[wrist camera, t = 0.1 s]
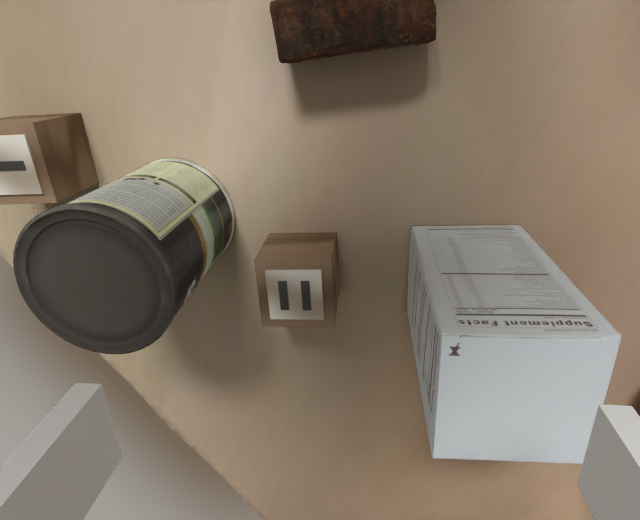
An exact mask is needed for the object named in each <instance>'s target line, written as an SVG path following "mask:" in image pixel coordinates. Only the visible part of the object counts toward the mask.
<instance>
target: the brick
mask: <svg viewBox="0 0 640 520" xmlns="http://www.w3.org/2000/svg"><path fill="white" fill-rule="evenodd" d="M270 12H271V17H272V22H273V27H274V33H275V39H276V45H277V50H278V57H279V61H280V62H281V63H298V62H302V61H305V60H311V59H319V58H325V57H331V56H337V55H345V54H352V53H358V52H366V51H373V50H379V49H387V48H395V47H401V46H408V45H418V44H424V43H429V42H431V41H434V40H435V38H436V7H435V3H434V0H274V1H271V2H270Z"/></svg>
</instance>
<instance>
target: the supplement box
mask: <svg viewBox="0 0 640 520" xmlns="http://www.w3.org/2000/svg"><path fill="white" fill-rule="evenodd" d="M407 316H408V320H409V326H410V332H411V338H412V344H413V350H414V356H415V362H416V368H417V374H418V380H419V386H420V392H421V397H422V403H423V410H424V416H425V422H426V427H427V433H428V439H429V445H430V451H431V455H432V458H438V459H468V460H494V461H519V462H546V463H571V464H583V461H584V457H585V453H586V450H587V446H588V442H589V439H590V435H591V431H592V428H593V424H594V420H595V417H596V413H597V410H598V406H599V405H604V401H605V397H606V394H607V390H608V387H609V383H610V379H611V376H612V372H613V368H614V364H615V360H616V356H617V352H618V348H619V345H620V341H621V335H620V334H619V333H618V332H617V331H616V329H615V328H614V327H613V326H612V325H611V324H610V323H609V322H608V320H607V319H606V318H605V317H604V316H603V315H602V314H601V313H600V312H599V311H598V310H597V309H596V308H595V306H594V305H593V304H592V303H591V302H590V301H589V300H588V299H587V298H586V297H585V296H584V295H583V293H582V292H581V291H580V290H579V289H578V288H577V287H576V286H575V285H574V283H573V282H572V281H571V280H570V279H569V278H568V277H567V276H566V275H565V273H564V272H563V271H562V270H561V269H560V268H559V267H558V266H557V265H556V264H555V263H554V261H553V260H552V259H551V258H550V257H549V256H548V255H547V254H546V253H545V252H544V250H543V249H542V248H541V247H540V246H539V245H538V244H537V243H536V242H535V241H534V239H533V238H532V237H531V236H530V235H529V234H528V233H527V232H526V231H525V229H524V228H523V227H522V226H520V225H474V226H413V227H412V228H411V233H410V248H409V266H408V290H407Z"/></svg>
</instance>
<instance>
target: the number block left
mask: <svg viewBox="0 0 640 520" xmlns="http://www.w3.org/2000/svg"><path fill="white" fill-rule="evenodd" d="M98 183H99V182H98V178H97V174H96V170H95V166H94V162H93V158H92V155H91V151H90V147H89V143H88V139H87V135H86V131H85V127H84V123H83V120H82V116H81V113H68V114H47V115H27V116H13V117H7V118H1V119H0V204H35V203H58V202H60V201H62V200H64V199H67V198H69V197H71V196H73V195H75V194H77V193H79V192H81V191H83V190H86V189H88V188H90V187H92V186H94V185H96V184H98Z"/></svg>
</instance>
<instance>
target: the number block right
mask: <svg viewBox="0 0 640 520" xmlns="http://www.w3.org/2000/svg"><path fill="white" fill-rule="evenodd" d="M254 262H255V270H256V278H257V286H258V294H259V302H260V311H261V319H262V326H291V327H334V326H335V319H336V311H337V304H338V296H339V281H338V258H337V234H336V232H330V233H270V234H269V235H268V237H267V239H266V241H265V242H264V244H263V246H262V248H261V250H260V251H259V253H258V255H257V257H256V258H255V260H254Z"/></svg>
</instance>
